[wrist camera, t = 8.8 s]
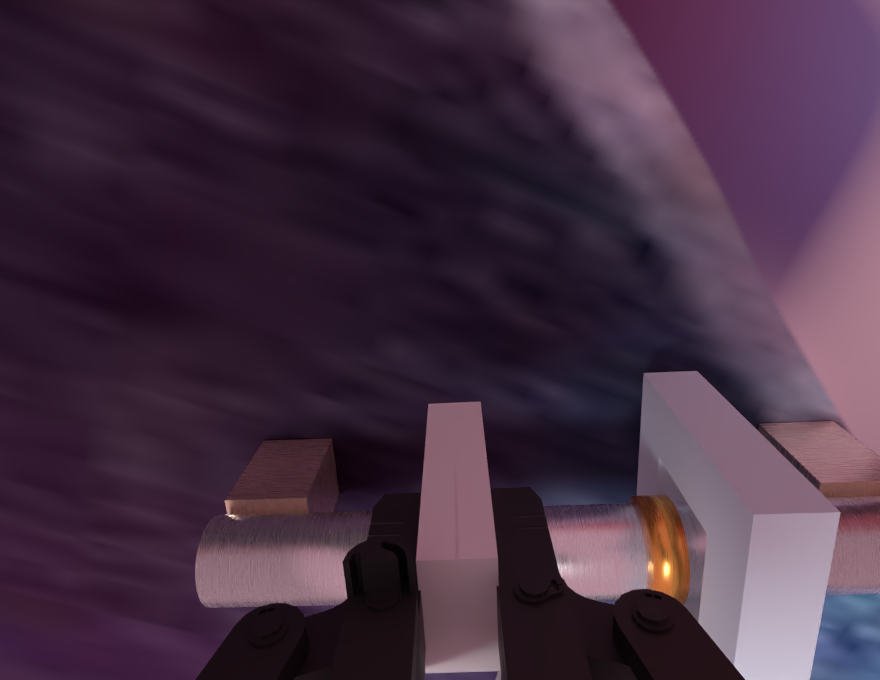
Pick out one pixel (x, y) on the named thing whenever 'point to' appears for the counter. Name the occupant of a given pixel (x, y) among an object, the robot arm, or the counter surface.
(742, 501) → the white square holed plate
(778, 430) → the pipe rig
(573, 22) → the counter surface
